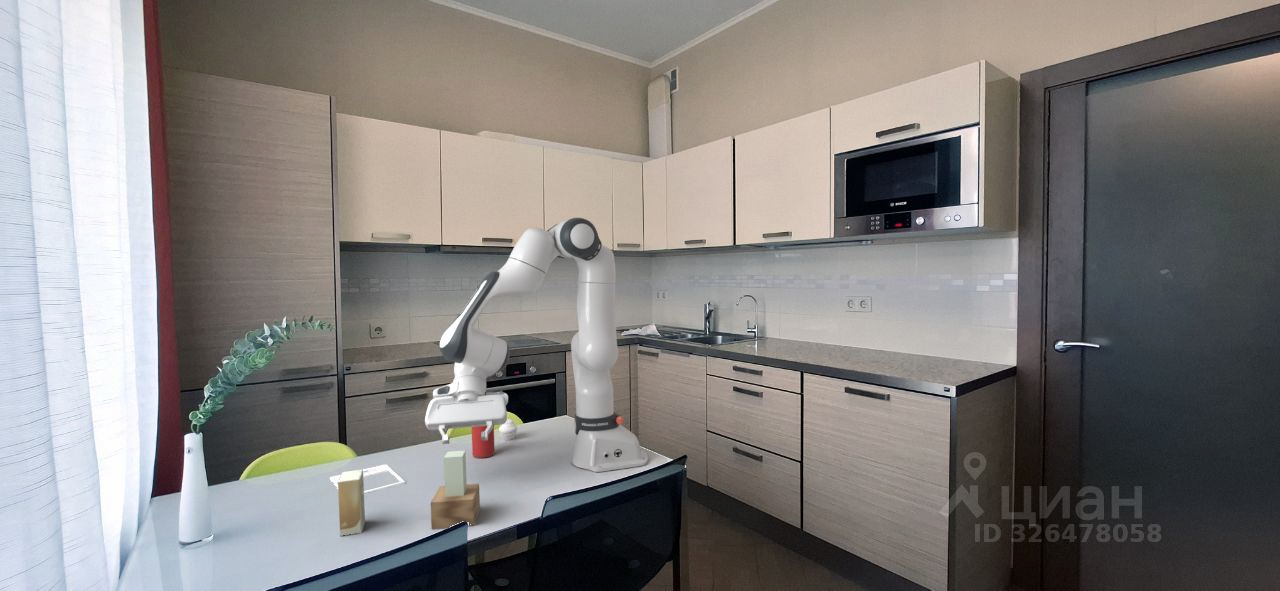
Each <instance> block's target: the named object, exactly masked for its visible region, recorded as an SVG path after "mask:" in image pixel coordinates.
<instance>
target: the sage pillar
mask: <svg viewBox="0 0 1280 591" xmlns="http://www.w3.org/2000/svg"><path fill="white" fill-rule="evenodd" d="M466 455H467V454H466V450H453V451H452V450H451V451H447V452H446V454H445V455H444V456H443V464H444V465H443V469H444V470H443V471H444V474H443V475H444V486H445V497H452V496H464V494H465V492H466V489H467V456H466Z"/></svg>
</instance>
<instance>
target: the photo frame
mask: <svg viewBox="0 0 1280 591" xmlns="http://www.w3.org/2000/svg"><path fill="white" fill-rule="evenodd" d="M362 470H363V478H367V477H370V475H372V476H375V474H376V475H379V474H380V475H381V474H383V473H388V472H389V473H390V474H391V475H392V476H393V475H394V476H395V477H396V478H395V477H394V478H395V479H397V481H398V482H395V483H390V484H386V485H383V486H380V487H379V486H378V487H376V488H372V489H368V490H364V495H366V494H365V493H367V494H369V493H368V492H371V493H373V492H372V491H374V492H378V491H381V489H382V490H385V488H386V489H389V487H390V488H394V487H397V485H398V486H400V484H401V485H404V483H405V484H406V482H405V480H404V479H403V478H402V477H401V476H400V475H398V473H396V472H395V471H394V470H393V469H392V468H391V467H390V466H389V465H388V464H386V463H385V464H382V465H381V464H380V465H377V466H373V467H368V468H363V469H362ZM340 475H341V474H338V475H333V476H330V477H329V480H330V482H331V483H332V482H333V483H334V484H333V483H332V484H333V485H335V486H336V487H337V488H336V487H335V486H334V487H335V488H336V489H338V484H337V483H338V480H339V478H340ZM366 476H367V477H366ZM393 486H394V487H393ZM377 490H378V491H377Z"/></svg>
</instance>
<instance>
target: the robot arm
mask: <svg viewBox="0 0 1280 591" xmlns="http://www.w3.org/2000/svg"><path fill="white" fill-rule="evenodd" d="M602 244H603V243H602V241H601V239H600V237H599V233H598V231H597V229H596V227H595V225H594V224H593V222H592V221H590V220H588V219H586V218H583V217H573V218H567V219H564V220H562V221H560V222H558V223H556V224H555V225H553V226H552V227H550V228H548V230H545V229H543V228H540V227H529V228H527V229H526V230H525V231H524V232H523V233H522V235H521V236H520V237H519V239H518V240H517V242H516V244H515V246H513V249H512V251H511V253H510V254H509V257H508V259H507V261H506V262H505V263H504V265H503V266H502V267H501V268H500V269H499V270H497V271H490V272H489V273H488V274H487V275H486V276H484V278H483V279H482V281H481V282H480V283H479V284H478V286H477V287H476V289H475V291H474V292H473V293H472V294H471V296H470V298H469V299H468V300H467V302H466V303H465V305H464V306H463V308H462V309H461V311H460V312H459V313H458V315H457V316H456V317H455V319H454V320H453V321H452V322H451V324H450V325H448V327H447V328H446V329H445V331H444V332H443V333H442V336H441V338H440V341H439V343H438V347H439V348H438V349H439V350H440V353H441V355H442V356H443V358H444V359H445V361H448V362H452V363H454V365H453V374H454V378H453V381H452V382H451V383H449V384H446V385H443V386H440V387H438V388H435V389H433V392H432V396H433V398H432V399H431V400H430V402H429V403H428V405H427V409H426V412H425V417H424V424H425V426H426V428H427V429H428V430H429V431H439V434H440V435H441V443H442V445H447V444H450V441H451V440H450V438H451V437H450V435H449V434H446V432H447V430H452V429H462V428H463V429H464V428H472V427H477V426H487V428H486V430H485V431H484V432H481V439H482V441H485V440H488V434H489V433H490V432H491V430H492V429H493V425H494V426H497V425H498V426H501V425H502V424H504V423H505V422H506V421H507V419H508V415H507V414H508V413H507V407H506V406H507V405H508V403H509V395H508V394H507V393H506V392H503V391H502V390H498V391H487V379H488V377H489V378H490V377H493V376H495V375H497V374H498V373H500V372H501V371H503V370H505V369H506V367H507V365H508V364H509V361H510V354H511V353H510V352H511V351H510V347H509V344H508V342H507V341H506V340H504V339H502V338H500V337H497V336H495V335H492V334H488V333H486V332H484V331H481V330H478V329H476V328H474V326H475V325H476V322H477V321H478V320H479V318H480V317H481V315H482V314H483V313H484V310H485V309H486V308H487V306H488V305H489V304H490V303H491V302H492V301H493V300H495V299H497V298H501V297H514V298H517V297H518V298H519V297H527V296H530V295H533V294H534V293H535V292H537V291H538V290H539V288H540V287H541V285H542V284H543V282H544V279H545V277H546V275H547V273H548V271H549V268H550V266H551V264H552V262H553V261H554V259H556V258H561V259H574V260H575V262H576V264H577V268H578V276H577V278H578V279H577V293H576V295H577V296H576V314H577V322H578V325H577V326H578V332H576V333H575V334H574V335H573V336H572V339H571V343H570V349H571V361H572V370H573V379H574V385H575V386H574V387H575V414H574V419H573V420H574V433H575V443H574V444H575V445H574V450H573V454H572V460H571V463H572V465H573V466H574V467H578V468H581V469H585V470H589V471H591V472H594V473H602V472H608V471H616V470H623V469H629V468H636V467H642V466H645V465H646V464H648V462H649V456H648V453H647V452H646V450H644V449H642V448H641V445H640V442H639V439H638V437H637V436H636V434H634V433H633V432H632V431H630V430H629V429H627V428H626V427H624V426H623V424H624V419H623V416H621V415H620V414H619V413H618V411H616V412H615V411H614V385H613V381H612V376H611V373H610V372H611V371H610V368H612V367H613V366H614V365H615V364H616V362H617V361H618V358H619V347H618V340H617V339H618V338H617V337H618V336H617V326H616V317H615V316H616V315H615V302H616V301H615V300H616V299H615V298H616V284H617V283H616V280H617V278H616V277H617V276H616V275H617V274H616V262H615V255H614V252H613V251H612V249H611V248H609V247H607V246H605V245H602Z"/></svg>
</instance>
